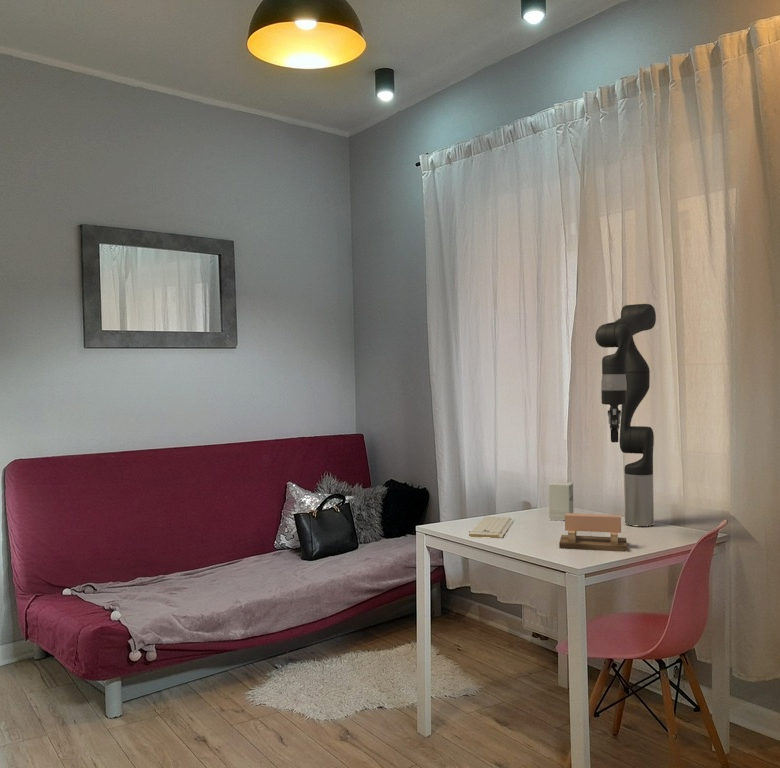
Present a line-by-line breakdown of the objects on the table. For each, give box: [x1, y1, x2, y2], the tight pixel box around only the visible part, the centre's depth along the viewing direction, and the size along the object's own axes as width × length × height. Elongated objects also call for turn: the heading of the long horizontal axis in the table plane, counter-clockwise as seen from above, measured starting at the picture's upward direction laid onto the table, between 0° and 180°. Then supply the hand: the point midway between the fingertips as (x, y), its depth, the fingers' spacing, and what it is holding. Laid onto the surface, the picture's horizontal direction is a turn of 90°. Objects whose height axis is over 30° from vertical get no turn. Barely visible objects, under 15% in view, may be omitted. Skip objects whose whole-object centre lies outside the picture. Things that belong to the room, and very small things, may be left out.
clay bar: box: [564, 512, 622, 534], centre depth 223 cm, size 16×4×4 cm, turn 74°
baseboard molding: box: [468, 516, 514, 539], centre depth 250 cm, size 31×3×12 cm
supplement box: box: [548, 481, 574, 521], centre depth 265 cm, size 7×7×13 cm
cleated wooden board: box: [558, 531, 628, 552], centre depth 223 cm, size 12×19×4 cm, turn 74°
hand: (614, 441), depth 232 cm, fingers open, 8 cm apart
